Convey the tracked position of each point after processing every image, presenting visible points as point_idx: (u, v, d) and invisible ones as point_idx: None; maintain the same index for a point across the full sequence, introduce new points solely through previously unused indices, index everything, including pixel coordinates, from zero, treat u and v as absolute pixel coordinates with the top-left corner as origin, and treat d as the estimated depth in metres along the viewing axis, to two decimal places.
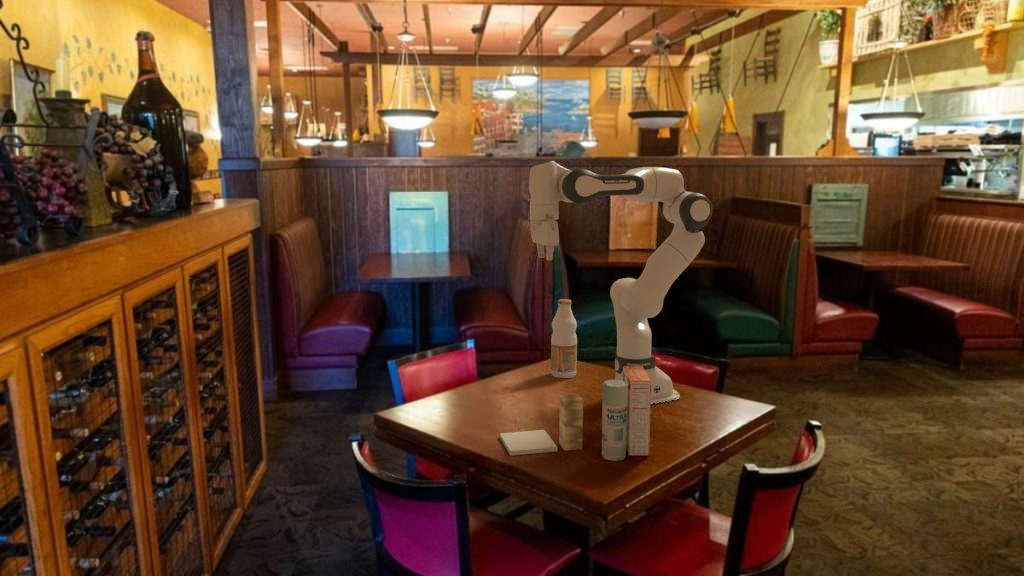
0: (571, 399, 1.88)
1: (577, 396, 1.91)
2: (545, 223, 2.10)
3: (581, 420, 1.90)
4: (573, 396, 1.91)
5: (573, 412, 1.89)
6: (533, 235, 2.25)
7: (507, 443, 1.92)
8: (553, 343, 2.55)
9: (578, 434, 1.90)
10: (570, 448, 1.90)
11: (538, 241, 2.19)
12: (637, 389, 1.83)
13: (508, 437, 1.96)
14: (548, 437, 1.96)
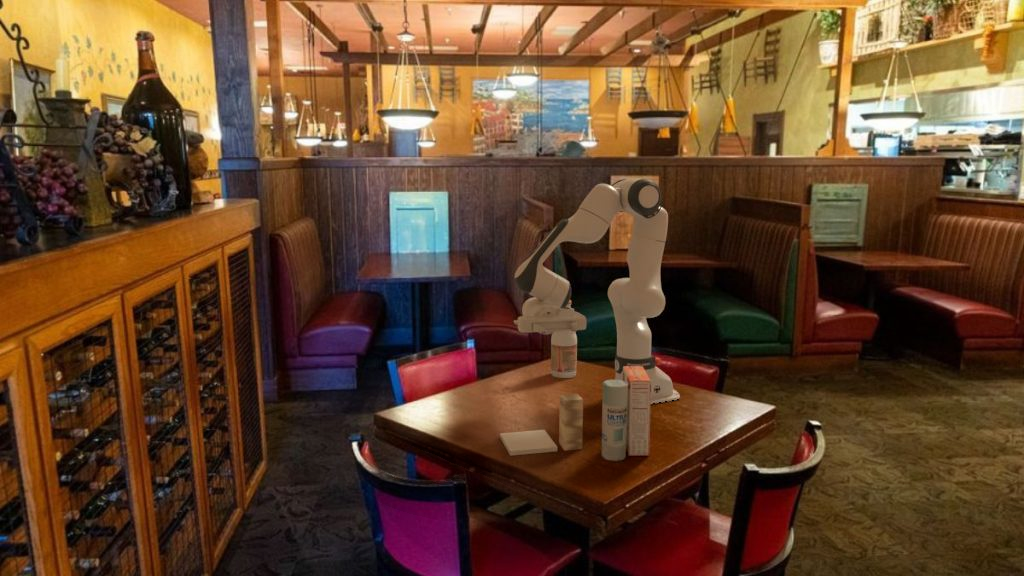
0: (571, 399, 1.88)
1: (577, 396, 1.91)
2: None
3: (581, 420, 1.90)
4: (573, 396, 1.91)
5: (573, 412, 1.89)
6: None
7: (507, 443, 1.92)
8: (553, 343, 2.55)
9: (578, 434, 1.90)
10: (570, 448, 1.90)
11: (557, 331, 2.05)
12: (637, 389, 1.83)
13: (508, 437, 1.96)
14: (548, 437, 1.96)
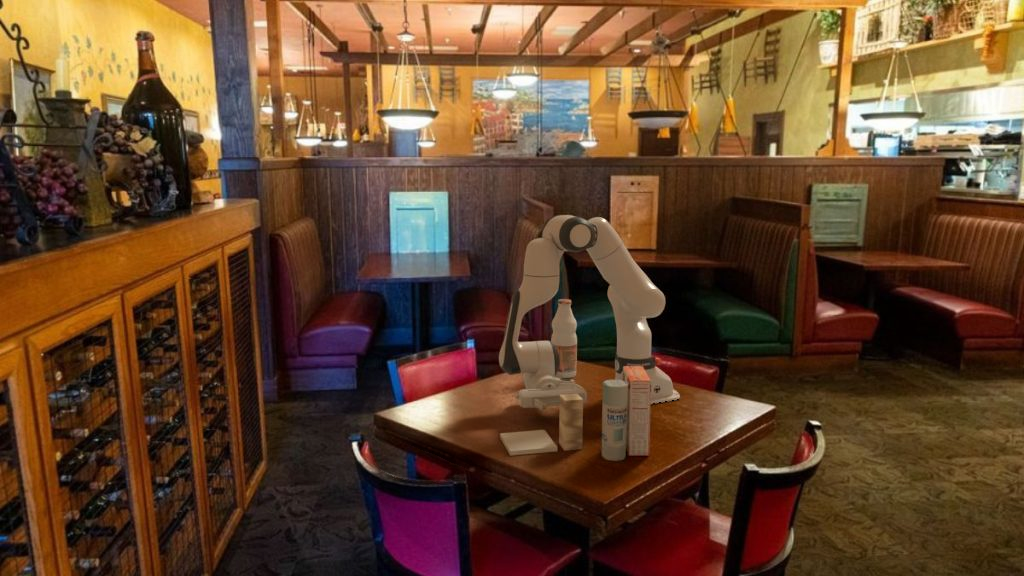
0: (571, 399, 1.88)
1: (577, 396, 1.91)
2: None
3: (581, 420, 1.90)
4: (573, 396, 1.91)
5: (573, 412, 1.89)
6: None
7: (507, 443, 1.92)
8: (553, 343, 2.55)
9: (578, 434, 1.90)
10: (570, 448, 1.90)
11: None
12: (637, 389, 1.83)
13: (508, 437, 1.96)
14: (548, 437, 1.96)
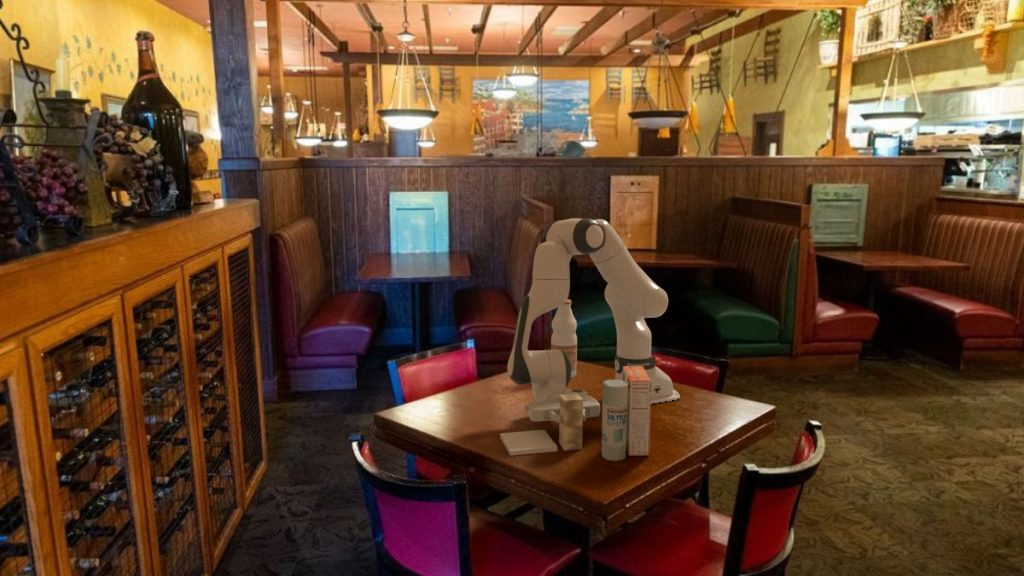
0: (571, 399, 1.88)
1: (577, 396, 1.91)
2: None
3: (581, 420, 1.90)
4: (573, 396, 1.91)
5: (573, 412, 1.89)
6: None
7: (507, 443, 1.92)
8: (553, 343, 2.55)
9: (578, 434, 1.90)
10: (570, 448, 1.90)
11: None
12: (637, 389, 1.83)
13: (508, 437, 1.96)
14: (548, 437, 1.96)
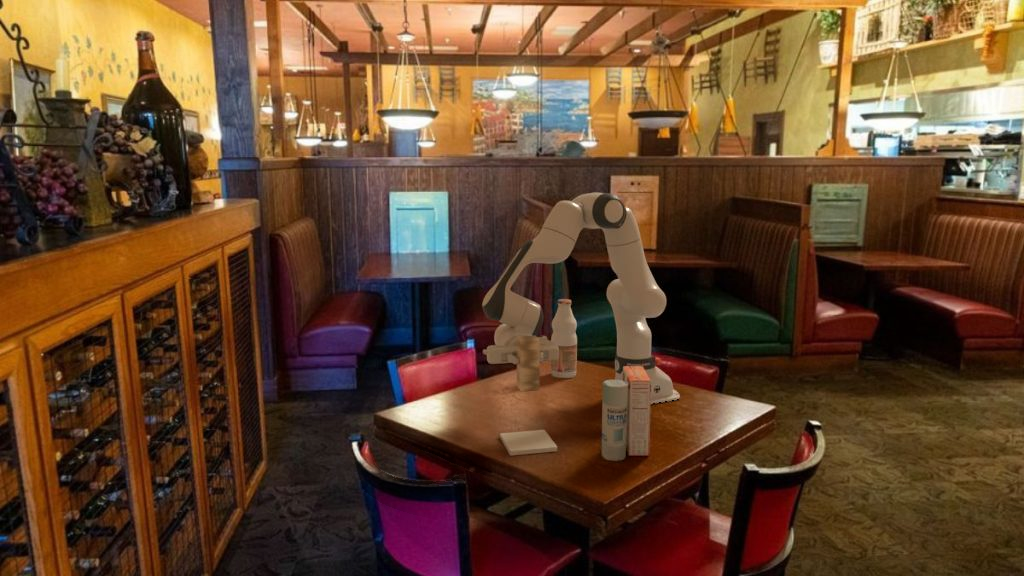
0: (528, 340, 1.87)
1: (534, 337, 1.90)
2: None
3: (538, 361, 1.88)
4: (531, 337, 1.90)
5: (530, 353, 1.87)
6: None
7: (507, 443, 1.92)
8: None
9: (535, 375, 1.89)
10: (527, 389, 1.89)
11: None
12: (637, 389, 1.83)
13: (508, 437, 1.96)
14: (548, 437, 1.96)
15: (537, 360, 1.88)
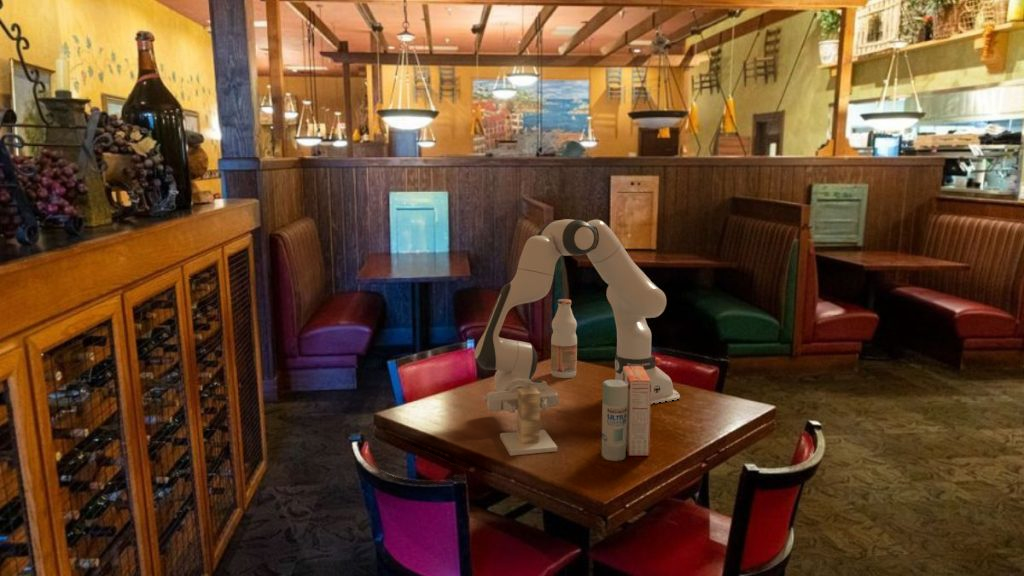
0: (528, 393, 1.90)
1: (535, 390, 1.92)
2: None
3: (538, 414, 1.91)
4: (531, 390, 1.92)
5: (530, 406, 1.90)
6: None
7: (507, 443, 1.92)
8: (553, 343, 2.55)
9: (535, 427, 1.91)
10: (527, 441, 1.91)
11: None
12: (637, 389, 1.83)
13: (508, 437, 1.96)
14: (548, 437, 1.96)
15: (537, 413, 1.91)
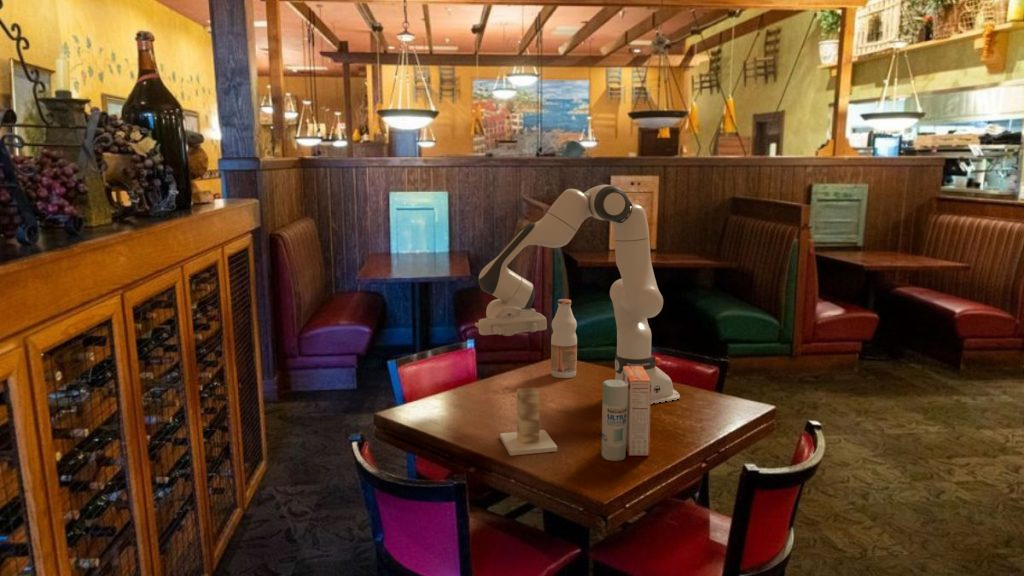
0: (528, 393, 1.90)
1: (534, 390, 1.92)
2: None
3: (538, 414, 1.91)
4: (530, 390, 1.92)
5: (530, 406, 1.90)
6: None
7: (507, 443, 1.92)
8: (553, 343, 2.55)
9: (535, 427, 1.91)
10: (527, 442, 1.91)
11: (517, 332, 2.07)
12: (637, 389, 1.83)
13: (508, 437, 1.96)
14: (548, 437, 1.96)
15: (537, 413, 1.91)
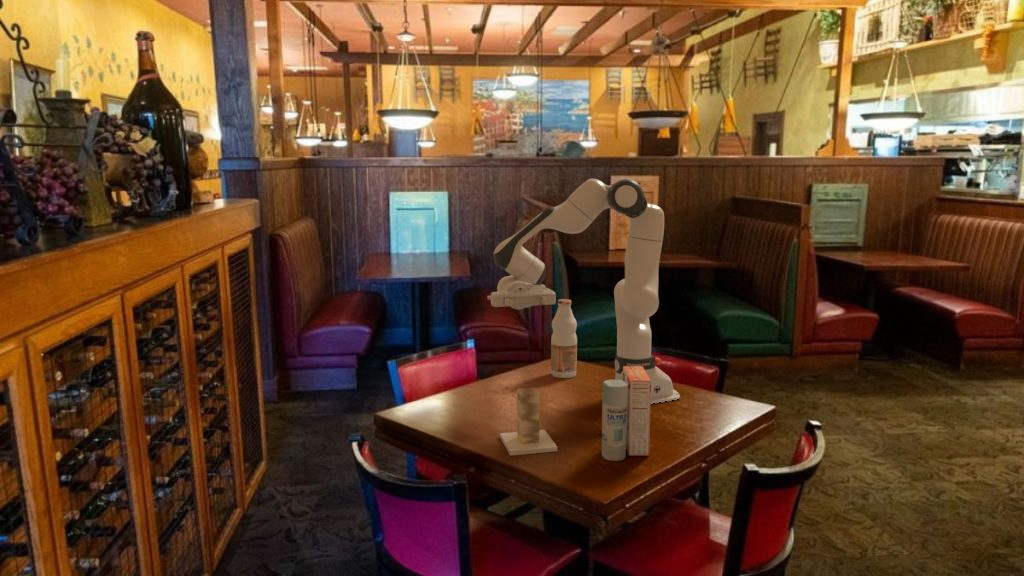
0: (528, 393, 1.90)
1: (534, 390, 1.92)
2: None
3: (538, 414, 1.91)
4: (530, 390, 1.92)
5: (530, 406, 1.90)
6: None
7: (507, 443, 1.92)
8: (553, 343, 2.55)
9: (535, 427, 1.91)
10: (527, 442, 1.91)
11: (527, 305, 2.18)
12: (637, 389, 1.83)
13: (508, 437, 1.96)
14: (548, 437, 1.96)
15: (537, 413, 1.91)
